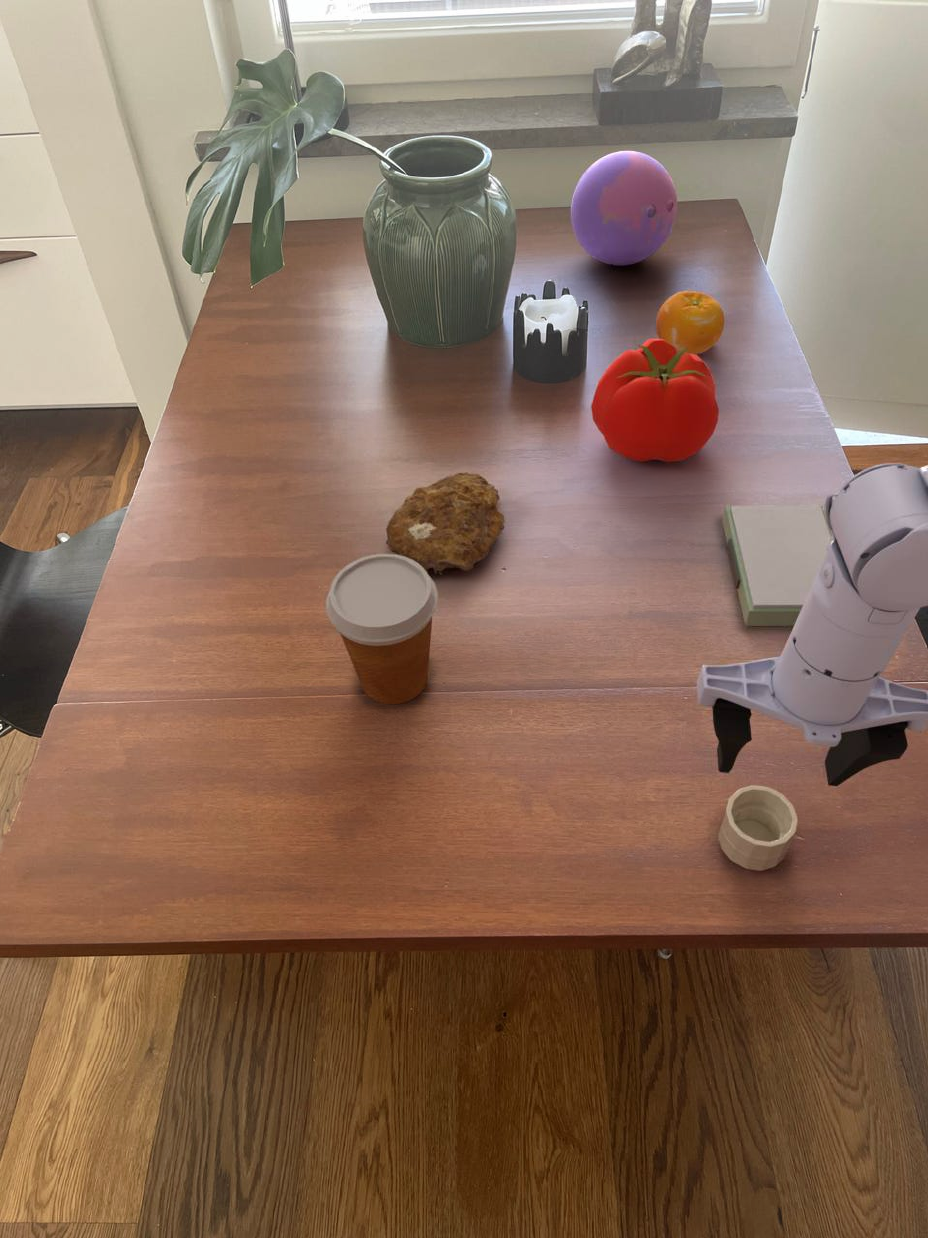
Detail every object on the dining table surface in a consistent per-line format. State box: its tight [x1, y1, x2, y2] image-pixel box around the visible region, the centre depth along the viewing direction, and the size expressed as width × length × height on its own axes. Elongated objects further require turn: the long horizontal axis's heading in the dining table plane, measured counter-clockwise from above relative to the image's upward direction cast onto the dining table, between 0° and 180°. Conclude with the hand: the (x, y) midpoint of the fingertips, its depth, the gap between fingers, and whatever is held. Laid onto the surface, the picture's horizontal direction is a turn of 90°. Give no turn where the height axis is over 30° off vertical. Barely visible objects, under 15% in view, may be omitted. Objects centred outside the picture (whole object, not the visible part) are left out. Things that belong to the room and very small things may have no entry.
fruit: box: [655, 290, 725, 355], centre depth 119 cm, size 8×8×8 cm
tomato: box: [590, 338, 720, 463], centre depth 103 cm, size 13×14×12 cm
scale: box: [721, 504, 832, 627], centre depth 92 cm, size 15×10×3 cm
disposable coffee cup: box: [325, 553, 439, 705], centre depth 82 cm, size 10×10×12 cm
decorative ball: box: [570, 150, 678, 266], centre depth 132 cm, size 15×15×15 cm
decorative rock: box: [385, 472, 506, 576], centre depth 98 cm, size 11×4×15 cm
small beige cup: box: [717, 784, 799, 872], centre depth 72 cm, size 5×5×4 cm
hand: (776, 767), depth 66 cm, fingers open, 7 cm apart
